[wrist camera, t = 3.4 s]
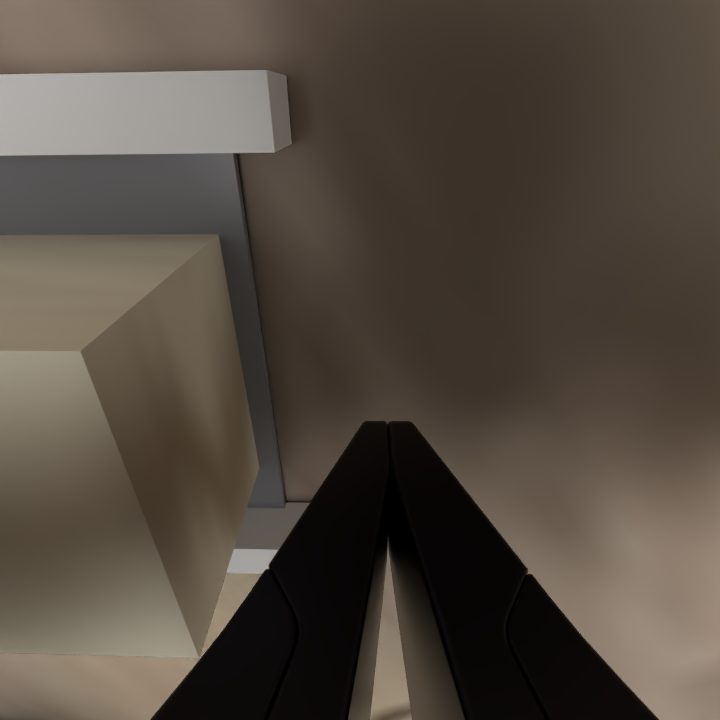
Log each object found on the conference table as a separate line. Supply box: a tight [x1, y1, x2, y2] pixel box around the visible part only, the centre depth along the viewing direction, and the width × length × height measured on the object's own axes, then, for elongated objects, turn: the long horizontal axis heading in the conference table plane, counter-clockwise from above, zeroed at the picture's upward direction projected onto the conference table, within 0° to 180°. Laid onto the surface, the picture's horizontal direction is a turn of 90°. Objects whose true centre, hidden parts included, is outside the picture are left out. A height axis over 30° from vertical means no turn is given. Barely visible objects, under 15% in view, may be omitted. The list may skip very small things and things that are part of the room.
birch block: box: [0, 234, 259, 658], centre depth 8 cm, size 6×6×4 cm
